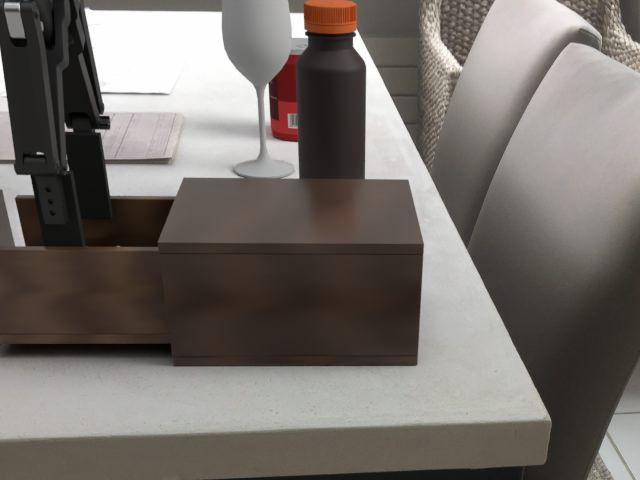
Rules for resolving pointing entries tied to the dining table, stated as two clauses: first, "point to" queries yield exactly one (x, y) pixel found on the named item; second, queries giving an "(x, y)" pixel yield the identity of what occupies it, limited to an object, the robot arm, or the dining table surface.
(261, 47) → the wineglass
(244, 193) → the cabinet
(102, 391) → the dining table surface
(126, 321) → the drawer
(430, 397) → the dining table surface
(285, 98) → the canned food
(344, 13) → the bottle
